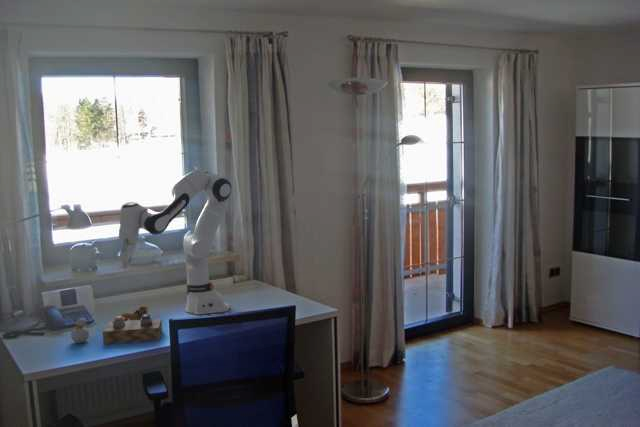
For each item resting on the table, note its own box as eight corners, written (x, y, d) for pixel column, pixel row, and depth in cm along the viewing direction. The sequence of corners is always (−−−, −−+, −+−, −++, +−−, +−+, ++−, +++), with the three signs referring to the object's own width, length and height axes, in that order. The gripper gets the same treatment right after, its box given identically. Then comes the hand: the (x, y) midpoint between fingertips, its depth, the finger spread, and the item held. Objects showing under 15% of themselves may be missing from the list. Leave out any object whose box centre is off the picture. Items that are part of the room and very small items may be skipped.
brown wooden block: (162, 331, 308) (161, 318, 307) (159, 340, 294) (158, 327, 294) (109, 334, 305) (108, 322, 304) (103, 344, 291) (102, 331, 290)
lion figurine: (147, 321, 324) (146, 304, 323) (149, 324, 319) (148, 306, 318) (116, 326, 318) (115, 308, 316) (118, 329, 313) (117, 311, 312)
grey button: (152, 325, 302) (151, 313, 302) (151, 328, 298) (150, 316, 297) (142, 326, 302) (141, 314, 301) (141, 329, 297) (140, 317, 297)
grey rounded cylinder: (125, 327, 301) (124, 315, 300) (123, 330, 296) (122, 318, 296) (115, 327, 300) (114, 316, 299) (113, 330, 296) (112, 318, 295)
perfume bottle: (81, 338, 300) (79, 313, 299) (96, 341, 296) (94, 315, 294) (68, 343, 294) (65, 317, 292) (83, 346, 289) (81, 320, 288)
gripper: (131, 243, 298) (129, 272, 301) (139, 232, 318) (137, 259, 321) (117, 242, 297) (115, 271, 300) (126, 231, 317) (124, 258, 320)
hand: (127, 265), depth 310 cm, fingers open, 8 cm apart
